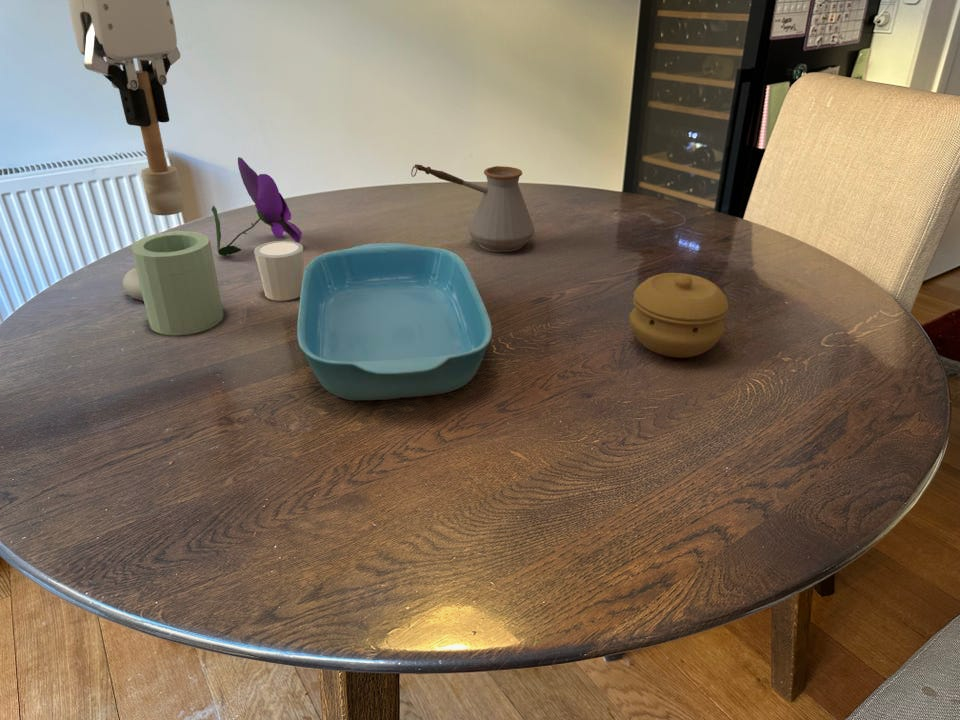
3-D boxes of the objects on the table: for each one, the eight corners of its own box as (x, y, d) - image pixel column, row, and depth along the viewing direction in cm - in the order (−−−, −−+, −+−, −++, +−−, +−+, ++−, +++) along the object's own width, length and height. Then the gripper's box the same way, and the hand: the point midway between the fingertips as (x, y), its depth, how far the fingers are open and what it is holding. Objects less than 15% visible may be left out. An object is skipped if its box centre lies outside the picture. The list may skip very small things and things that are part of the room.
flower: (263, 296, 115) (322, 243, 118) (206, 227, 104) (274, 171, 108) (223, 270, 124) (280, 221, 128) (168, 204, 113) (232, 154, 117)
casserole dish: (508, 414, 77) (510, 357, 73) (299, 433, 73) (291, 374, 70) (456, 281, 108) (456, 237, 105) (309, 290, 105) (304, 245, 101)
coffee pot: (519, 230, 129) (523, 148, 122) (543, 252, 120) (549, 164, 112) (406, 242, 123) (403, 155, 116) (422, 265, 114) (420, 173, 106)
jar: (140, 336, 91) (120, 257, 86) (161, 306, 99) (144, 231, 94) (215, 334, 92) (200, 255, 87) (229, 303, 100) (216, 230, 95)
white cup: (277, 280, 108) (272, 237, 104) (317, 287, 106) (312, 243, 102) (251, 298, 102) (243, 252, 99) (292, 305, 100) (286, 259, 97)
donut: (116, 290, 104) (138, 311, 98) (110, 268, 103) (132, 288, 96) (183, 273, 110) (208, 292, 103) (178, 252, 108) (204, 270, 102)
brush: (145, 215, 85) (113, 74, 77) (155, 205, 88) (125, 69, 80) (180, 215, 85) (151, 74, 77) (188, 205, 88) (161, 69, 80)
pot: (695, 324, 97) (708, 256, 92) (735, 366, 87) (752, 292, 82) (614, 329, 95) (623, 260, 90) (645, 372, 85) (656, 297, 80)
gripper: (143, -60, 80) (175, 109, 89) (12, -65, 67) (65, 133, 76) (193, -60, 77) (222, 114, 86) (67, -65, 65) (116, 140, 74)
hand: (148, 121), depth 81 cm, fingers closed on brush, 2 cm apart
